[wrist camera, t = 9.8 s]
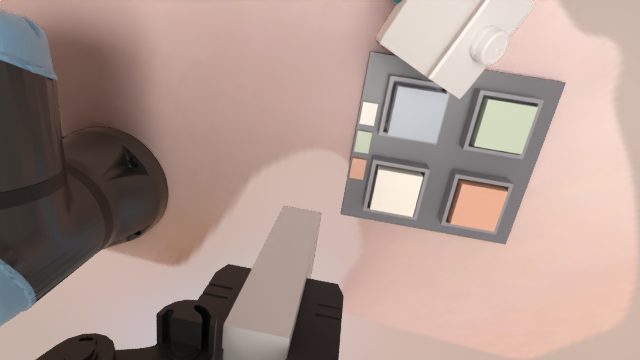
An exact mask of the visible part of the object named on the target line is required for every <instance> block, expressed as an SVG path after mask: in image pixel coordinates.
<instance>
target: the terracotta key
mask: <svg viewBox="0 0 640 360" xmlns="http://www.w3.org/2000/svg"><path fill="white" fill-rule="evenodd" d="M507 194H508V191H507V190H506V189H505V188H504V187H503V186H500V185H494V184H489V183H483V182H477V181H471V180H466V179H460V178H459V179H458V182H457V185H456V189H455V192H454V195H453V199H452V202H451V205H450V209H449V212H448V215H447V218H448V220H449V222H450V224H454V225H459V226H465V227H471V228H476V229H482V230H487V231H493V232H494V230H495V228H496V225H497V222H498V219H499V216H500V213H501V211H502V208H503V205H504V202H505V199H506V197H507Z"/></svg>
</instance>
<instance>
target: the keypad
mask: <svg viewBox="0 0 640 360" xmlns="http://www.w3.org/2000/svg"><path fill="white" fill-rule="evenodd" d="M396 84H400V85H406V86H413V87H419V88H425V89H431V90H437V91H444V92H446V93H447V94H449V96H448V100H447V104H446V108H445V111H444V115H443V119H442V123H441V126H440V130H439V134H438V138H437V141H436V143H431V142H425V141H419V140H414V139H408V138H402V137H396V136H390V135H388V134H387V125H388V120H389V116H390V111H391V106H392V102H393V97H394V92H395V88H396ZM565 84H566V83H565V82H559V81H553V80H547V79H540V78H534V77H528V76H521V75H515V74H509V73H502V72H496V71H490V70H484V71H483V72H482V73H481V74H480V76H479V77H478V78H477V79H476V81H475V82H474V83H473V84H472V86H471V87H470V88H469V89H468V90H467V92H466V93H465V94H464V95H463V96H462V97H461V98H460V99H459V98H457V97H456V96H454V95H453V94H451V93H450V92H448V91H447V90H445V89H444V88H442V87H441V86H439V85H438V84H436V83H435V82H434V81H432V80H431V79H429V78H427V77H426V76H425V75H423V74H422V73H421V72H419V71H418V70H416V69H415V68H413V67H412V66H411V65H409V64H408V63H406V62H405V61H404V60H402V59H401V58H399V57H398V56H394V55H388V54H382V53H375V52H370V57H369V62H368V68H367V73H366V78H365V84H364V89H363V95H362V100H361V106H360V111H359V116H358V122H357V127H356V133H355V138H354V143H353V149H352V154H351V160H350V165H349V171H348V176H347V181H346V187H345V193H344V198H343V203H342V209H341V214H343V215H348V216H353V217H359V218H364V219H370V220H375V221H381V222H386V223H391V224H397V225H402V226H408V227H413V228H419V229H424V230H430V231H435V232H441V233H446V234H452V235H457V236H463V237H468V238H474V239H479V240H485V241H490V242H496V243H501V244H506V242H507V239H508V236H509V234H510V231H511V228H512V226H513V223H514V220H515V218H516V215H517V212H518V210H519V207H520V204H521V202H522V199H523V196H524V193H525V191H526V188H527V185H528V183H529V180H530V177H531V175H532V172H533V169H534V167H535V164H536V161H537V159H538V156H539V153H540V151H541V148H542V145H543V143H544V140H545V137H546V134H547V132H548V129H549V126H550V124H551V121H552V118H553V116H554V113H555V110H556V108H557V105H558V102H559V100H560V97H561V94H562V92H563V89H564V86H565ZM483 97H489V98H495V99H501V100H507V101H513V102H520V103H526V104H530V105H533V106H536V107H538V109H537V112H536V115H535V118H534V121H533V123H532V126H531V129H530V132H529V135H528V137H527V140H526V143H525V146H524V149H523V151H522V154H517V153H511V152H505V151H499V150H493V149H487V148H481V147H475V146H473V145H472V144H471V143H470V138H471V135H472V132H473V128H474V125H475V122H476V118H477V115H478V112H479V108H480V105H481V102H482V98H483ZM378 164H379V165H385V166H391V167H397V168H402V169H408V170H414V171H420V172H421V173H422V176H423V180H422V183H421V187H420V191H419V195H418V199H417V202H416V206H415V210H414V214H413V217H410V216H404V215H399V214H393V213H388V212H382V211H377V210H371V209H370V198H371V193H372V188H373V184H374V179H375V174H376V169H377V165H378ZM459 178H460V179H466V180H471V181H477V182H483V183H489V184H494V185H500V186H503V187H504V188H505V189H506V190H507V191H508V194H507V197H506V199H505V202H504V205H503V208H502V211H501V213H500V216H499V219H498V222H497V225H496V228H495V230H494V232H493V231H487V230H482V229H476V228H471V227H465V226H459V225H454V224H450V222H449V220H448V218H447V215H448V212H449V209H450V205H451V202H452V199H453V195H454V192H455V189H456V185H457V182H458V179H459Z"/></svg>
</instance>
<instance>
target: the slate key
mask: <svg viewBox="0 0 640 360" xmlns="http://www.w3.org/2000/svg"><path fill="white" fill-rule="evenodd" d="M448 96H449V94H447V93H446V92H444V91H437V90H431V89H425V88H419V87H413V86H406V85H400V84H396V88H395V92H394V97H393V102H392V106H391V111H390V116H389V120H388V125H387V134H388V135H390V136H396V137H402V138H408V139H414V140H419V141H425V142H431V143H436V141H437V138H438V134H439V130H440V126H441V123H442V119H443V115H444V111H445V108H446V104H447V100H448Z"/></svg>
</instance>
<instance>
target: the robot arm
mask: <svg viewBox="0 0 640 360" xmlns="http://www.w3.org/2000/svg"><path fill="white" fill-rule="evenodd" d="M56 81H58V77H57V75H56V74H55V73H54V68H53V64H52V59H51V53H50V48H49V42H48V38H47V36H46V34H45V32H44V31H43V29H42V28H41V27H40V26H39V25H38V24H37V23H36V22H34V21H33V20H32V19H30V18H28V17H26V16H23V15H20V14H17V13H13V12H9V11H5V10H1V9H0V326H2V325H3V324H4V323H6V322H7V321H9V320H10V319H12V318H13V317H15V316H16V315H17V314H19V313H20V312H22V311H26V310H28V309H29V308H30V307H32V305H34V304H35V303H36V302H37V301H38V300H39V299H41V298H42V297H43V296H44V295H46V294H47V293H48V292H49V291H51V290H52V289H53V288H54V287H55V286H57V285H58V284H59V283H60V282H62V281H63V280H64V279H65V278H67V277H68V276H69V275H70V274H72V273H73V272H74V271H75V270H76V269H78V268H79V267H80V266H82V265H83V264H84V263H85V262H86V261H88V260H89V259H90V258H91V257H93V256H94V255H95V254H96V253H98V252H99V251H100V250H102V249H105V248H108V247H111V246H115V245H118V244H121V243H125V242H128V241H131V240H134V239H136V238H138V237H140V236H142V235H143V234H145V233H146V232H147V231H148V230H150V229H151V228H152V227H153V226H154V225H155V224H156V223H157V222H158V221H159V220H160V219H161V217H162V215H163V213H164V211H165V208H166V205H167V199H168V190H167V183H166V179H165V176H164V173H163V171H162V169H161V167H160V165H159V163H158V161H157V160H156V158H155V157H154V156H153V154H152V153H151V152H150V151H149V150H148V149H147V148H146V147H145V146H144V145H143V144H142V143H141V142H139V141H138V140H137V139H135V138H134V137H132V136H130V135H128V134H126V133H124V132H122V131H119V130H116V129H112V128H107V127H92V128H87V129H83V130H80V131H77V132H74V133H71V134H69V135H67V136H65V137H63V138H62V132H61V123H60V114H59V105H58V96H57V87H56ZM321 214H322V213H320V212H316V211H310V210H305V209H299V208H294V207H288V206H283V208H282V210H281V212H280V214H279V216H278V218H277V220H276V222H275V224H274V226H273V228H272V230H271V232H270V234H269V236H268V238H267V240H266V242H265V244H264V246H263V248H262V250H261V252H260V254H259V256H258V258H257V260H256V262H255V264H254V266H253V268H252V269H251V268H246V267H240V266H235V265H230V264H228V265H226V266H225V267H223V268H222V269H220V270H219V271H217V272H216V273H215V274H214V276H213V277H212V279H211V281H210V282H209V285H207V287H206V288H205V290H204V292H203V294H202V295H201V296H200V297H199V299H198V300H183V301H177V302H174V303H172V304H170V305H168V306H165V307H164V308H163V309H162V310H161V311H159V312H158V313H157V344H156V345H155V346H151V347H146V348H140V349H127V350H115V347H114V343H113V341H112V340H110V339H109V338H108V337H107V336H104V335H100V334H96V333H95V334H82V335H78V336H75V337H72V338H69V339H67V340H65V341H63V342H61V343H59V344H58V345H56V346H55V347H53V348H52V349H50V350H49V351H47V352H46V353H45V354H43V355H42V356H40V357H39V358H38V359H36V360H338V357H339V345H340V332H341V319H342V308H343V294H342V292H341V290H340V288H339V286H338V284H334V283H329V282H324V281H318V280H314V279H310V278H311V273H312V267H313V262H314V256H315V250H316V244H317V238H318V232H319V226H320V219H321Z"/></svg>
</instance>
